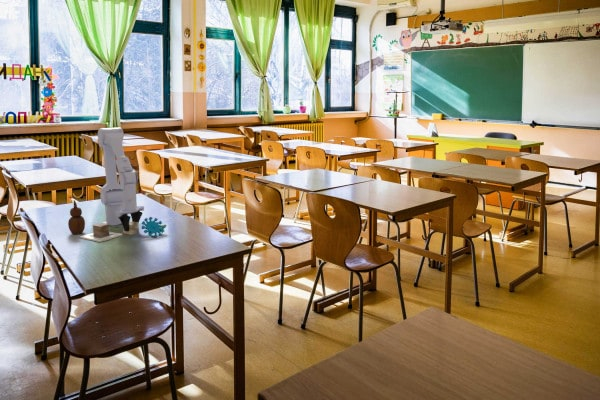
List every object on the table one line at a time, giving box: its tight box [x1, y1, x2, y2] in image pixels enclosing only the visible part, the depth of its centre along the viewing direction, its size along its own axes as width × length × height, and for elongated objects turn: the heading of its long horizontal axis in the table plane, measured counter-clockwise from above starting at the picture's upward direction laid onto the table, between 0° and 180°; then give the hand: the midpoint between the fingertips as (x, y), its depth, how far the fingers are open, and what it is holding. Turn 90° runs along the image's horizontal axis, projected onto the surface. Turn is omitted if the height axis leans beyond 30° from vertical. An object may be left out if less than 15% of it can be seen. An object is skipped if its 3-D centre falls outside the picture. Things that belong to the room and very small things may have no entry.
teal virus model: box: [141, 216, 167, 238], centre depth 238 cm, size 11×6×10 cm
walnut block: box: [92, 222, 110, 237], centre depth 234 cm, size 4×4×4 cm
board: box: [79, 231, 123, 243], centre depth 235 cm, size 12×12×1 cm
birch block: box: [122, 220, 140, 236], centre depth 241 cm, size 4×4×4 cm
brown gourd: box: [67, 200, 86, 235], centre depth 238 cm, size 7×6×15 cm
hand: (131, 229), depth 241 cm, fingers closed on birch block, 4 cm apart
